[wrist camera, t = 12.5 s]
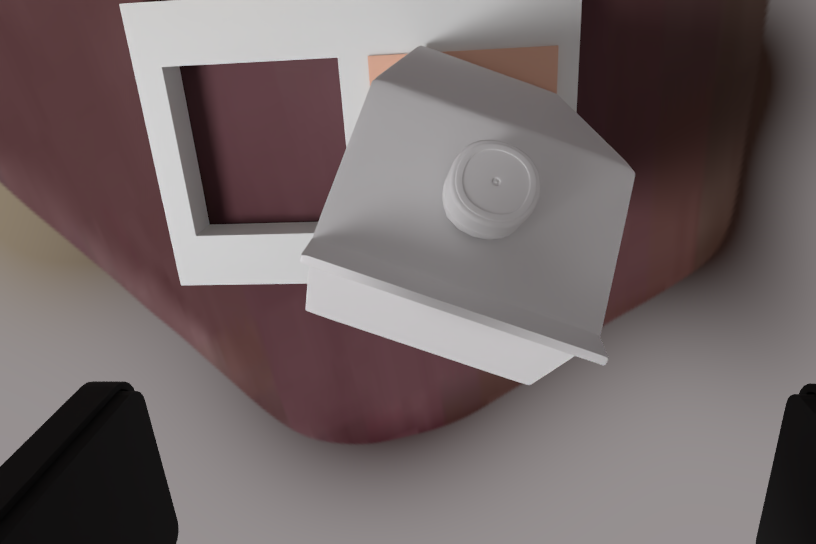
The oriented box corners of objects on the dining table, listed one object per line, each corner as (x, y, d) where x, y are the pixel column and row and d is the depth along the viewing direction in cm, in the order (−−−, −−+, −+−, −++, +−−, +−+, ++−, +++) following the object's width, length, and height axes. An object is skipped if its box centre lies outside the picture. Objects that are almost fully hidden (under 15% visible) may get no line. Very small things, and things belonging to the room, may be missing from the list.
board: (575, -25, 29) (584, -28, 27) (563, 265, 35) (569, 281, 33) (139, 4, 32) (117, 3, 30) (195, 271, 38) (179, 286, 36)
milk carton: (503, 226, 32) (543, 480, 15) (375, 181, 32) (263, 388, 15) (559, 93, 29) (688, 217, 12) (418, 43, 29) (344, 96, 12)
